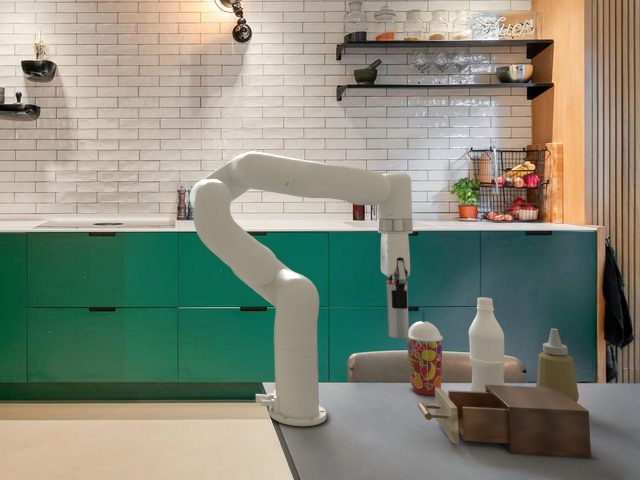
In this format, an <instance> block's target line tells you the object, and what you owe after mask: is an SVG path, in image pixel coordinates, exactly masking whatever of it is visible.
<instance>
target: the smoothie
mask: <svg viewBox="0 0 640 480" xmlns="http://www.w3.org/2000/svg"><path fill="white" fill-rule="evenodd" d="M425 312H426V311H425V309H422V310H421V320H419V321H415V322H414V323H412V324H411V325H410V327H409V337H408V338H406V347H407V355H408V356H407V357H408V367H409V377H410V386H411V387H412V389H413V391H414V392H415V393H417V394H420V395H424V396H435V388H441V389H442V368H443V367H442V365H443V363H442V362H443V361H442V360H443V335H442V334H441V332H440V330H439V329H438V328H437V326H435V325H434V324H433V323H431V322H430V321H426V313H425Z"/></svg>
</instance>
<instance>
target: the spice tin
mask: <svg viewBox="0 0 640 480" xmlns="http://www.w3.org/2000/svg"><path fill="white" fill-rule="evenodd" d="M396 281H397V280H396ZM385 283H386V306H387V313H386V314H387V336H388V337H389V338H393V339H400V340H402V339H404V340H405V339H407V338H408V337H409V328H410V327H409V299H408V298H409V297H408V295H409V294H408V293H407V309H394V308H392V292H391V290H393V284H392V280H388V281H387V280H386V281H385ZM408 285H409V283H408V281H406V287H407V288H408Z"/></svg>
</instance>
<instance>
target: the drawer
mask: <svg viewBox="0 0 640 480" xmlns="http://www.w3.org/2000/svg"><path fill="white" fill-rule="evenodd" d="M447 393H448V395H447V394H446V393H445V392H444V390H443V388H442V387H441V388H435V395H434V400H435V401H434V404H425V403H424V402H421V401H420V402H418V403H417V407H418V409H419V411H420V412H421V414H422V415H423V417H424V418H425V420H427V421H431V420H432V419H435V420H436V422H437V423H438V424H439V426H440V428H441V429H442V431H443V432H444V433H445V435H446V436H447V438H448V439H449V440H450V442H451V444H460V439H459V438H460V437H459V435H460V436H461V437H462V439H463V440H464V441H465V442H479V443H495V444H503V443H509V427H508V409H507V408H506V407H505V406H504V405H502V404H501V403H500V402H499V401H498V400H497V399H496V398H495V397H494V396H493V395H492V394H491V393H490V392H475V391H471V390H451V389H448V390H447ZM429 409H431V410H435V413H431V412H430V410H429Z"/></svg>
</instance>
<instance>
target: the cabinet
mask: <svg viewBox="0 0 640 480" xmlns="http://www.w3.org/2000/svg"><path fill="white" fill-rule="evenodd" d="M485 392H490V393H491V394H492V395H493V396H494V397H495V398H496V399H497V400H498V401H499V402H500V403H501V404H502V405H504V406H505V407H506V408H507V409H508V427H509V443H502V445H504V447H505V448H506V449H507V450H508V451H509V452H510V453H511V454H524V455H541V456H556V457H571V458H586V459H587V458H588V459H592V447H591V427H590V410H588V409H587V408H586V407H584V406H582V405H581V403H578V401H577V402H575V401H574V400H572V399H571V398H570V397H568V396H567V395H565V394H564V393H563V392H561V391H560V390H558V389H557V388H549V387H536V386H524V385H523V386H522V385H505V386H503V385H485Z"/></svg>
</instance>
